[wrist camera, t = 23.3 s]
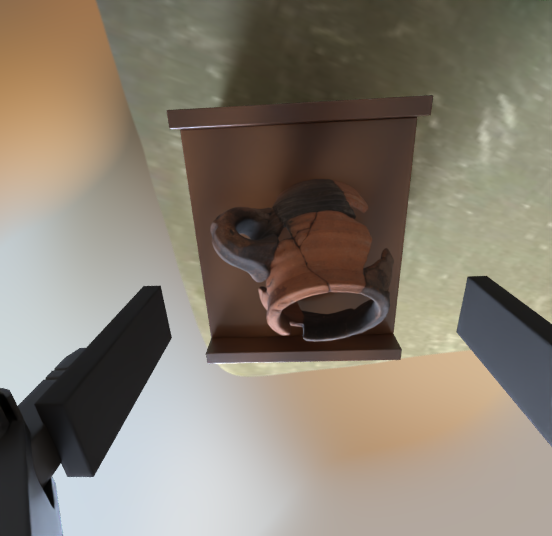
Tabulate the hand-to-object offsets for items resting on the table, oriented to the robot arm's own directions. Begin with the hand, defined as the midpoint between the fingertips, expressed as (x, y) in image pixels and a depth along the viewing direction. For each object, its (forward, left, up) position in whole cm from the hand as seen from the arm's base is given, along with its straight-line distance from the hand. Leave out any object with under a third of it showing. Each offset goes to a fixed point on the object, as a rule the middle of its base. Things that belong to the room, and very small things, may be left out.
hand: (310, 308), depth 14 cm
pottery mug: (0, 0, -10) cm, 10 cm away
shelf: (0, 0, -23) cm, 23 cm away
